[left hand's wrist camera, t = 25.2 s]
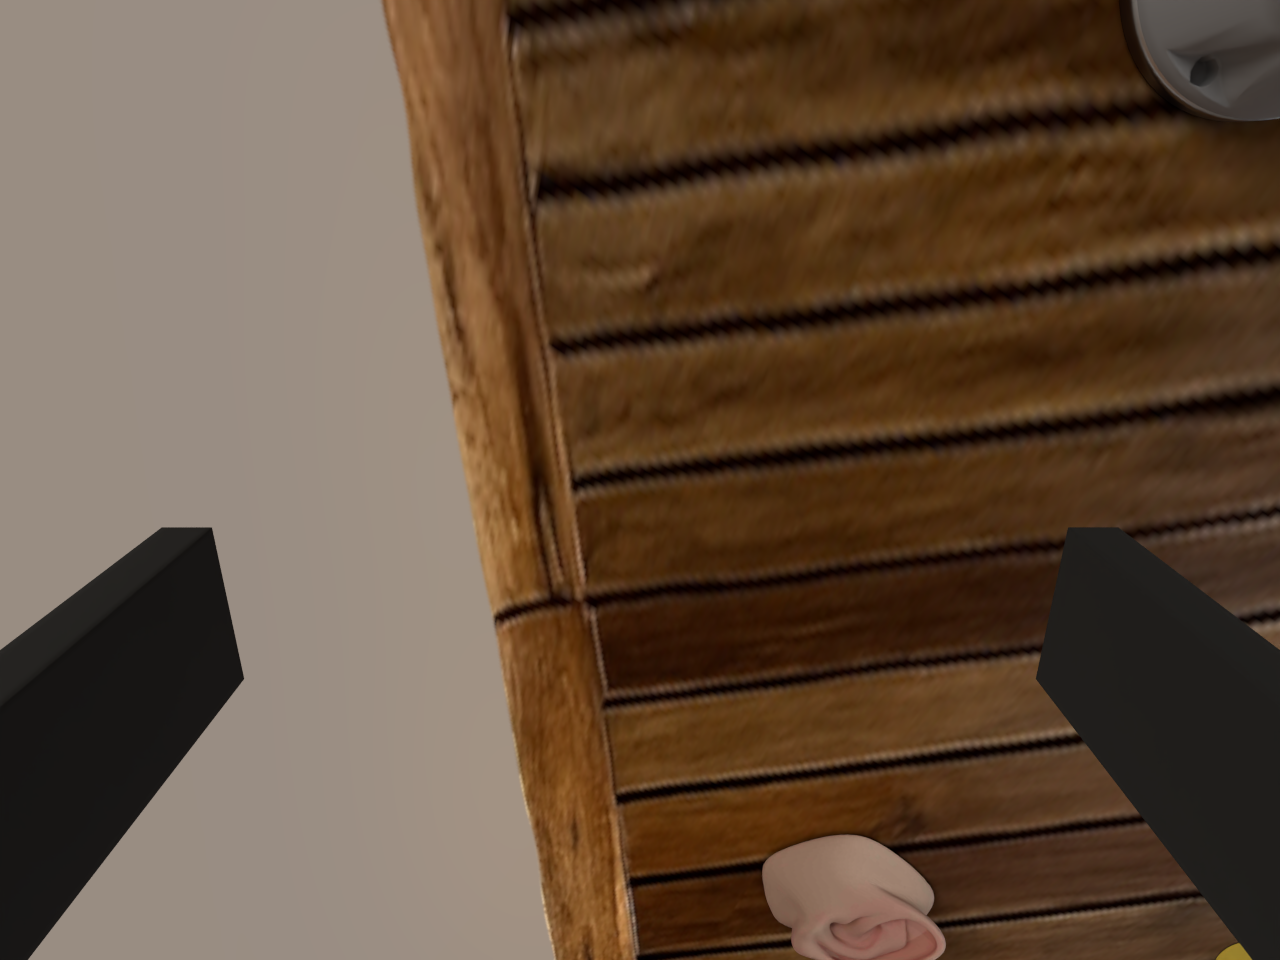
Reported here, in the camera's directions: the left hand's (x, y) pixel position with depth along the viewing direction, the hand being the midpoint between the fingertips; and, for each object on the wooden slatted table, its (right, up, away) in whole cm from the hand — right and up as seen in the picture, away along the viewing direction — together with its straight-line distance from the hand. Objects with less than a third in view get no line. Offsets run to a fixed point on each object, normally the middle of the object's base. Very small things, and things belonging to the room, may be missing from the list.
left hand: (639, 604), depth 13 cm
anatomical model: (+16, -30, +51) cm, 61 cm away
